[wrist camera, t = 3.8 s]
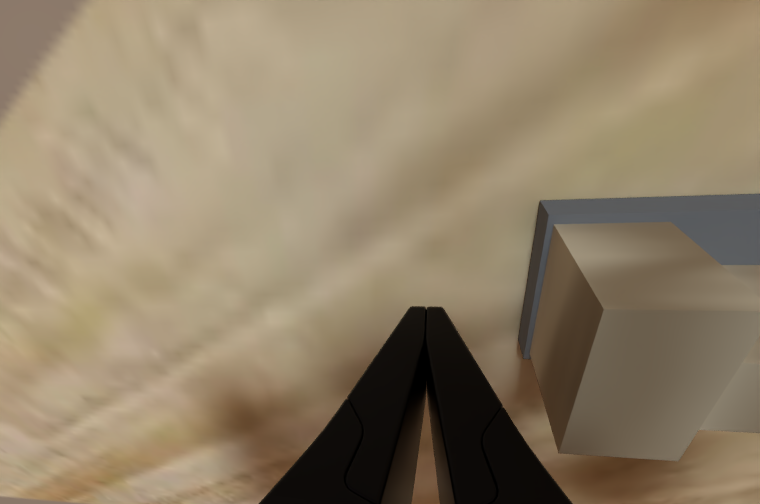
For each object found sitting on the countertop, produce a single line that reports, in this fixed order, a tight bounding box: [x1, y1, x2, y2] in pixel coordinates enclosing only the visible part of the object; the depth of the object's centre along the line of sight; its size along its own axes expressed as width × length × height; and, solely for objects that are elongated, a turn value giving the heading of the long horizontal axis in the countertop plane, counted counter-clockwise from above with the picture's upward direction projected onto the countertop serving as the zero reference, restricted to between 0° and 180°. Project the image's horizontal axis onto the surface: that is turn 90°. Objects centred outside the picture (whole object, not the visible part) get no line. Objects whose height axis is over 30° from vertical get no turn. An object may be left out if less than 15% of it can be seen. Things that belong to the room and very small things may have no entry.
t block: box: [530, 222, 760, 461], centre depth 8 cm, size 7×4×3 cm, turn 95°
